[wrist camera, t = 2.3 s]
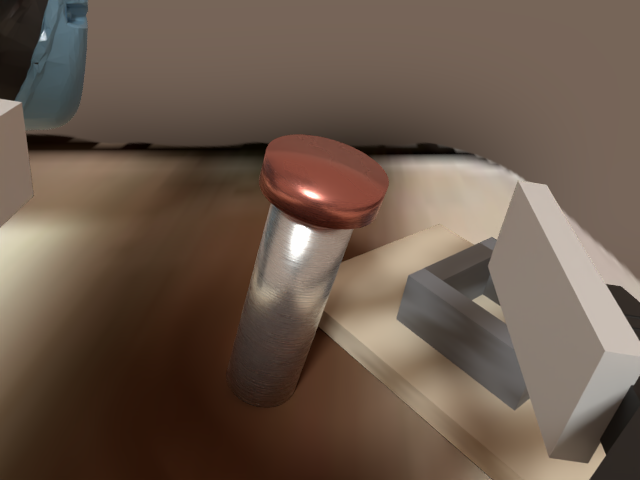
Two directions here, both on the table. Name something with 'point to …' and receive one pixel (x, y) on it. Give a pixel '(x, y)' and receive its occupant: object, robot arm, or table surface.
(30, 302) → the table surface
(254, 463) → the table surface
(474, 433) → the socket
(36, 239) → the table surface
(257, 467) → the table surface
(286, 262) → the pin
